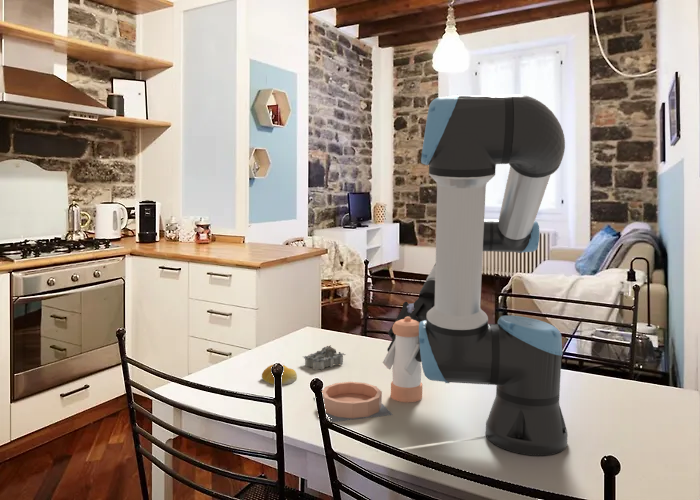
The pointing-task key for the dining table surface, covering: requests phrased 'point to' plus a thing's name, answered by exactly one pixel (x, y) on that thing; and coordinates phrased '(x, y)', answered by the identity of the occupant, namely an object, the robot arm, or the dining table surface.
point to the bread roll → (287, 377)
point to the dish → (352, 399)
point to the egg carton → (324, 358)
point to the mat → (382, 412)
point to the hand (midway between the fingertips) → (397, 368)
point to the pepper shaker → (405, 362)
